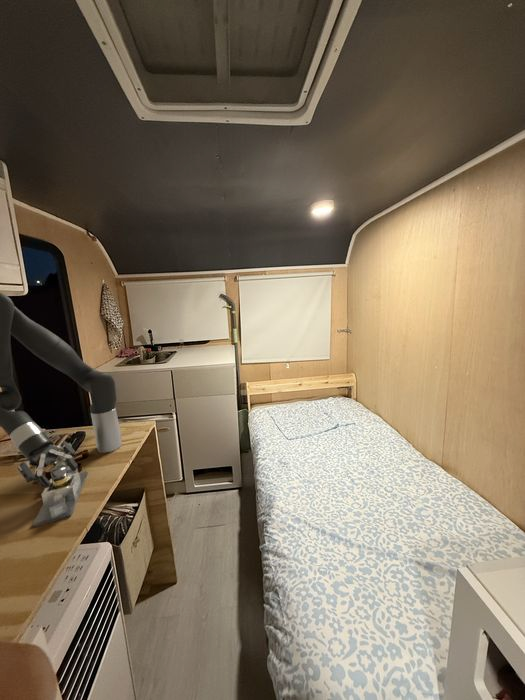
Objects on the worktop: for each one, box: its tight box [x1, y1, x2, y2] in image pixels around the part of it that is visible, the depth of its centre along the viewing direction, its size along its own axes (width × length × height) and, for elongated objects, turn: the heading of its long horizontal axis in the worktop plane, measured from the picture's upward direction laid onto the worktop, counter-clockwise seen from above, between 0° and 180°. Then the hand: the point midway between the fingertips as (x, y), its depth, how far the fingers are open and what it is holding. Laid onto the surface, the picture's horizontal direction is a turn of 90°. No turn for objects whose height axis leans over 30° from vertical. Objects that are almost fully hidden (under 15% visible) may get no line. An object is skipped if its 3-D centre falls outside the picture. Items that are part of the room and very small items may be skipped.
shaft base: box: [32, 466, 89, 528], centre depth 89 cm, size 22×9×5 cm, turn 21°
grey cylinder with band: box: [50, 465, 70, 490], centre depth 89 cm, size 4×4×9 cm
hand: (62, 477), depth 88 cm, fingers open, 8 cm apart
